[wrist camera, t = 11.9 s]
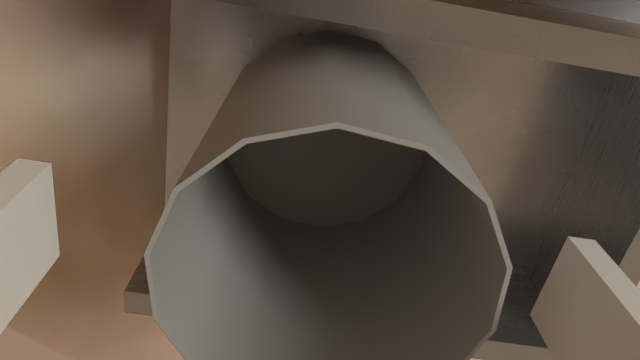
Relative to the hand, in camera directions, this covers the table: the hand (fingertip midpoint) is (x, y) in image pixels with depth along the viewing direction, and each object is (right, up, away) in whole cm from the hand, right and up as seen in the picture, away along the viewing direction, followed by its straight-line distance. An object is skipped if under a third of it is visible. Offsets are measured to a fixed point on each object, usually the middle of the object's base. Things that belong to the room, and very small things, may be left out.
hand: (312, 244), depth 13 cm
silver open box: (+3, +4, +9) cm, 10 cm away
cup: (0, +4, +8) cm, 9 cm away
